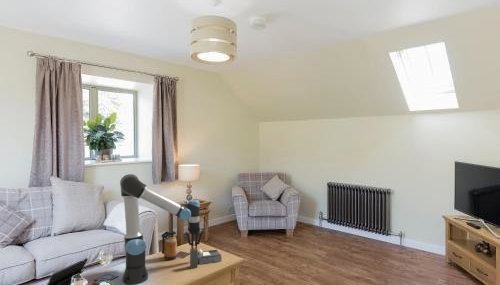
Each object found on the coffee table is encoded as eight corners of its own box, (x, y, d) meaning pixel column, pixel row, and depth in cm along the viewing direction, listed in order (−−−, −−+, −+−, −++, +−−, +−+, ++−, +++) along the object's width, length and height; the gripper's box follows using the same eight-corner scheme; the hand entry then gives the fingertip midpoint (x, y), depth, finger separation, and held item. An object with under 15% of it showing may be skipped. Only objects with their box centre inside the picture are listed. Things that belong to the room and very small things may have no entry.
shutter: (201, 257, 221) (201, 252, 221) (199, 253, 228) (199, 249, 228) (210, 255, 224) (210, 251, 224) (208, 252, 230) (208, 248, 230)
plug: (190, 268, 211) (191, 247, 211) (189, 266, 215) (190, 245, 215) (197, 267, 213) (197, 246, 213) (196, 265, 216) (196, 245, 216)
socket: (199, 264, 218) (199, 257, 218) (196, 258, 229) (196, 251, 229) (221, 261, 224) (221, 254, 224) (217, 255, 235) (217, 249, 235)
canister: (177, 259, 226) (177, 232, 226) (161, 261, 223) (161, 233, 223) (176, 255, 235) (176, 229, 235) (161, 256, 232) (161, 230, 231)
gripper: (186, 223, 217) (185, 257, 217) (204, 222, 222) (204, 254, 222) (184, 221, 224) (184, 253, 224) (202, 219, 229) (201, 251, 229)
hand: (194, 254), depth 223 cm, fingers closed
